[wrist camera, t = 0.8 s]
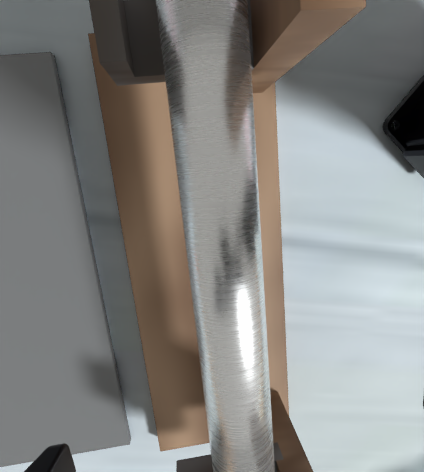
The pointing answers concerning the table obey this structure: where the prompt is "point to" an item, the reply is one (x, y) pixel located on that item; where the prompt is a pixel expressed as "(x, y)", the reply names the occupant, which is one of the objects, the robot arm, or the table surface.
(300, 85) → the table surface
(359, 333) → the table surface
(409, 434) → the table surface
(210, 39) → the steel rail
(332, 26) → the hook stand
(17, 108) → the rubber mat
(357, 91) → the table surface
